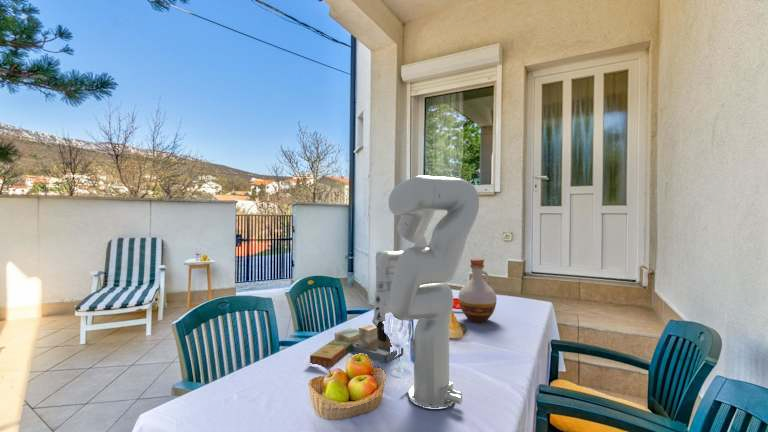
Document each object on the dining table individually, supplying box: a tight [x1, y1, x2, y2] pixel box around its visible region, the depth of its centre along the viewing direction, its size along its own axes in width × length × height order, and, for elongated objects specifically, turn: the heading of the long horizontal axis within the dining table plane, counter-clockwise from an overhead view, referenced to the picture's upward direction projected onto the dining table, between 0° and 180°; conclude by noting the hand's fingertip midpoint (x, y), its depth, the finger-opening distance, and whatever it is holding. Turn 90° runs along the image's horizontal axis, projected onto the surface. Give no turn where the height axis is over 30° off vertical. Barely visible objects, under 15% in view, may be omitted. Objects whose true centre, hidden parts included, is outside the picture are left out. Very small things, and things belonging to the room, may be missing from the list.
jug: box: [458, 257, 497, 324], centre depth 161 cm, size 20×18×30 cm
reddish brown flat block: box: [309, 339, 352, 368], centre depth 114 cm, size 8×16×4 cm, turn 160°
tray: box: [350, 342, 404, 364], centre depth 118 cm, size 16×10×3 cm, turn 51°
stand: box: [334, 327, 359, 345], centre depth 127 cm, size 8×8×5 cm
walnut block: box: [377, 322, 392, 348], centre depth 115 cm, size 5×5×8 cm
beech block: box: [358, 324, 378, 351], centre depth 121 cm, size 5×5×8 cm
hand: (387, 338), depth 115 cm, fingers closed on walnut block, 5 cm apart
